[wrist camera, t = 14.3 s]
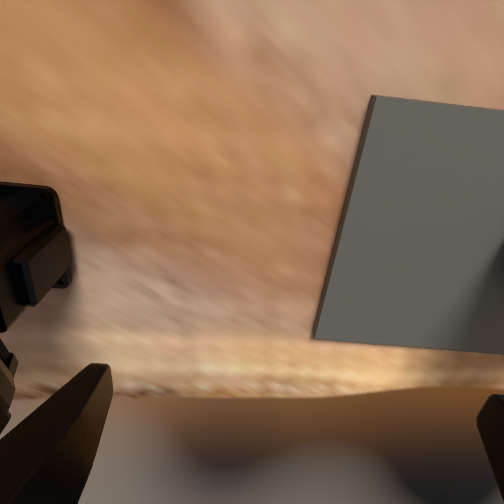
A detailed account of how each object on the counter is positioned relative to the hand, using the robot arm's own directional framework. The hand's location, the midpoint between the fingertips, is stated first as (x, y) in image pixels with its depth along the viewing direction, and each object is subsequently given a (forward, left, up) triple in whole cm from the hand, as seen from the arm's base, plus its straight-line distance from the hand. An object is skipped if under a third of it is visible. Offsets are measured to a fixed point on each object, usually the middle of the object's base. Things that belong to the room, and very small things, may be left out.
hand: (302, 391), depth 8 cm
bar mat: (+15, -2, -13) cm, 20 cm away
